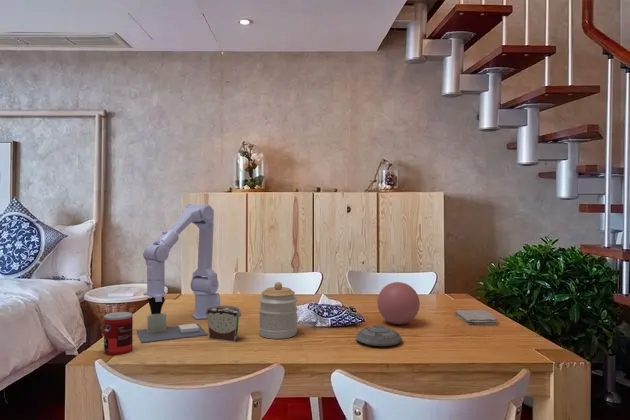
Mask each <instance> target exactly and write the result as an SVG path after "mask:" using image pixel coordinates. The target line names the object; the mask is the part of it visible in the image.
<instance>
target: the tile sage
mask: <svg viewBox="0 0 630 420" xmlns="http://www.w3.org/2000/svg"><path fill="white" fill-rule="evenodd" d="M166 327H167V312H161V313H158V314H151V313H150V314H147V315H146V329H147V333H154V332H163V331H166Z"/></svg>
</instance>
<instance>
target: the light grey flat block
mask: <svg viewBox="0 0 630 420" xmlns="http://www.w3.org/2000/svg"><path fill="white" fill-rule="evenodd" d="M197 324H198V323H187V324H180V325H179V324H178V325H177V326H178V330H179V332H180V333H181V334H188V333H197V332H199V327H198V326H197Z"/></svg>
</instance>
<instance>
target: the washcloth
mask: <svg viewBox="0 0 630 420" xmlns="http://www.w3.org/2000/svg"><path fill="white" fill-rule="evenodd" d="M454 315H455V316H456V317H458V319H460V320H461V321H462V322H463V323H465V324H466V325H468V326H481V327H482V326H489V327H490V326H498V322H497V320H498V319H497V318H496V317H495V315H494V314H491V313H490V312H488V311H487V310H485V309H470V310H467V309H456V310H454Z"/></svg>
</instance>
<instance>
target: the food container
mask: <svg viewBox="0 0 630 420" xmlns="http://www.w3.org/2000/svg"><path fill="white" fill-rule="evenodd" d="M206 314H207V318H206V319H207V326H208V328H207V330H208V339H209V340H215V341H225V342H232V343H233V342H234V343H235V342H237V339H238V331H239V319H240V317H242V313H241V310H240V307H237V306H233V305H220V306H215V307H210V308H207V310H206Z"/></svg>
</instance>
